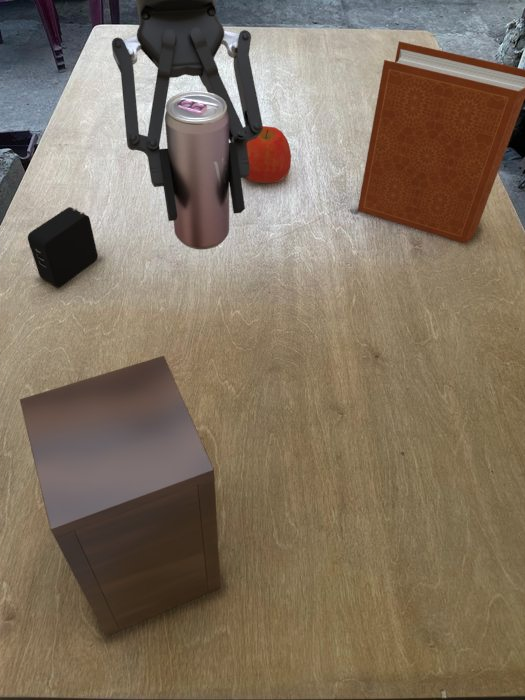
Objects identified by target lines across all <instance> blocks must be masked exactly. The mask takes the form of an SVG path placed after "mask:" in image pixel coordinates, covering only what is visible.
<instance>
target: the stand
mask: <svg viewBox="0 0 525 700" xmlns="http://www.w3.org/2000/svg"><path fill="white" fill-rule="evenodd" d="M19 403H20V407H21V412H22V415H23V420H24V424H25V429H26V432H27V437H28V442H29V446H30V450H31V453H32V457H33V463H34V466H35V470H36V474H37V479H38V484H39V488H40V491H41V496H42V500H43V505H44V508H45V513H46V517H47V521H48V525H49V530H50V532H51V533H52V536H53V537H54V539H55V542H56V543H57V545H58V548H59V549H60V551H61V553H62V555H63V557H64V559H65V561H66V562H67V565H68V567H69V568H70V570H71V573H72V574H73V576H74V578H75V580H76V582H77V584H78V585H79V587H80V590H81V591H82V594H83V595H84V597H85V599H86V601H87V603H88V605H89V607H90V609H91V611H92V613H93V615H94V616H95V618H96V620H97V622H98V625H99V626H100V628H101V630H102V632H103V634H104V635H105V637H108V636H111V635H114V634H115V633H118V632H120V631H122V630H125V629H127V628H130V627H132V626H134V625H136V624H139V623H141V622H143V621H146V620H149V619H150V618H153V617H156V616H157V615H160V614H162V613H164V612H168V611H169V610H172V609H174V608H176V607H177V608H178V607H179V606H181V605H184V604H186V603H188V602H190V601H193V600H195V599H197V598H200V597H202V596H205V595H207V594H209V593H212V592H214V591H216V590H218V589H220V588H221V574H220V573H221V572H220V553H219V552H220V551H219V536H218V517H217V516H218V515H217V498H216V482H215V481H216V480H215V469H214V466H213V464H212V461H211V460H210V457H209V455H208V452H207V450H206V448H205V446H204V444H203V441H202V439H201V437H200V435H199V432H198V431H197V430H198V429H197V428H196V424H195V423H194V421H193V419H192V416H191V414H190V412H189V410H188V407H187V404H186V402H185V401H184V398H183V396H182V394H181V391H180V389H179V387H178V385H177V382H176V381H175V377H174V376H173V373H172V371H171V369H170V366H169V364H168V362H167V359H166V358H165V355H161V356H158V357H155V358H150V359H148V360H144V361H141V362H138V363H134V364H131V365H128V366H125V367H121V368H118V369H115V370H112V371H108V372H105V373H102V374H99V375H95V376H92V377H88V378H85V379H82V380H79V381H75V382H72V383H68V384H65V385H62V386H60V387H59V386H58V387H56V388H52V389H48V390H46V391H42V392H39V393H36V394H32V395H30V396H29V395H28V396H25V397H22V398H20V399H19Z"/></svg>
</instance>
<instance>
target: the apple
mask: <svg viewBox="0 0 525 700" xmlns="http://www.w3.org/2000/svg"><path fill="white" fill-rule="evenodd" d="M247 152H248V160H249V167H250V171H249V175H248V176H247V177H246V178H245V179H247V180H248V181H250V182H253V183H259V184H273V183H278V182H279V181H281V180H283V179H284V178H285V177H286V176H287V175H288V174H289V171H290V169H291V165H292V152H291V146H290V144H289V140H288V138H287V137H286V135H285V134H284V133H283V131H281V130H280V129H279V128H277V127H274V126H267V125H263V129H262V131H261V132H260V134H259V135H258V137H257V138H256V139H252V140H250V141H248V142H247Z"/></svg>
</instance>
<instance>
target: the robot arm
mask: <svg viewBox="0 0 525 700" xmlns="http://www.w3.org/2000/svg"><path fill="white" fill-rule="evenodd" d="M136 8H137V13H138V14H137V15H138V22H139V24H138V28H137V31H136V35H134V36H131V37H128V38H126V39H122V38H121V37H114V38H113V39H112V41H111V50H112V56H113V59H114V61H115V63H116V65H117V67H118V70H119V72H120V78H121V90H122V91H121V92H122V104H123V110H124V111H123V113H124V126H125V136H126V137H125V138H126V145H127V148H128V149H129V150H131V151H139V152H142V153H144V154H145V155H146V157H147V162H148V169H149V176H150V182H151V185H152V186H153V187H154V188H158V187H159V188H160V187H163V194H164V198H165V207H166V213H167V220H168V222H174V220H176V219H177V217H178V216H177V209H176V202H175V196H174V189H173V182H172V175H171V168H170V162H169V155H168V148H167V147H166V148H160V144H161V137H162V130H163V124H164V119H165V113H166V104H167V100H168V99H167V98H168V94H169V93H168V92H169V87H170V81H171V79H174V78H179V77H182V76H190V77H199V79H200V81H201V84H202V85H203V86H204V87H205V89H206V92H209V93H213V94H215V95H218V96H219V97H221V98H222V99H223V100H224V101H225V102H226V105H227V112H228V115H229V192H230V198H231V204H232V205H231V206H232V211H233V214H235V215H236V214H241V213H243V211H244V210H246V207H245V198H244V191H243V183H242V179H247V178H246V177H247V176H248V175H249V171H250V167H249V160H248V152H247V142H248V141H250V140H252V139H256V138H257V137H258V135H259V134H260V132H261V131H262V129H263V126H264V125H263V119H262V115H261V110H260V104H259V100H258V94H257V89H256V85H255V80H254V79H255V78H254V75H253V70H252V69H253V68H252V64H251V60H250V50H251V41H252V35H251V33H250V31H248V30H247V29H244V30H243V29H242V30H240V32H239V33H237V32H233V31H229V30H225V28H224V25H222V23H221V21H220V19H219V18H218V15H217V8H216V1H215V0H136ZM221 45H223V46H224V47H225V48H226V53H227V55H228V56H229V58H232V59H233V71H234V72H233V73H234V77H235V83H236V86H237V91H238V96H239V102H240V107H241V111H242V117H243V122H244V126H243V123H242V122H241V119H240V117H239V115H238V113H237V110H236V108H235V106H234V104H233V102H232V99H231V97H230V95H229V93H228V90H227V88H226V86H225V84H224V81H223V79H222V77H221V75H220V72H219V68H218V65H217V63H216V61H215V57H216V55H217V53H218V51H219V49H220V47H221ZM140 50H141V51H142V52H143V54H144V55H145V56H146V57H147V58H148V59H149V60H150V61H151V62H152V64H153V65H154V66H155V67H156V68H157V72H156V77H155V78H156V79H155V86H154V91H153V98H152V104H151V105H152V106H151V109H150V110H151V111H150V117H149V123H148V131H147V135H144V134H140V130H139V129H140V128H139V117H138V107H137V95H136V94H137V93H136V82H135V72H134V71H135V70H134V65H135V64H136V63H137V62H138V52H139V51H140Z"/></svg>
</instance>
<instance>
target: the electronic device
mask: <svg viewBox="0 0 525 700" xmlns="http://www.w3.org/2000/svg"><path fill="white" fill-rule="evenodd" d="M91 223H92V222H91V219H90V216H89V215H87V214H85V212H84V211H80V210H78V208H76V207H75V208H73V207H71V206H69V207H67V208H65V209H63V210H62V211H60V212H59V213H57V214H56V215H54V216H53V217H51V218H50V219H48V220H46V221H45V222H43V223H42V224H40V225H39V226H38V227H36V228H34V229H32V231H30V232H29V233H28V235H27V241H28V244H29V248H30V251H31V254H32V257H33V260H34V264H35V266H36V269H37V272H38V275H39V278H40V279H42V280H44V281H46V282H47V283H49V284H50V285H52V286H54V287H56V288H61V287H63V286H64V285H66V284H67V283H68V282H69V281H71V280H72V279H73V278H75V277H76V276H77V275H79V274H80V273H82V272H83V271H84V270H86V269H87V268H88V267H90V266H91V265H93V264H94V263H95V262H96V261H97V260H98V256H99V255H98V251H97V246H96V242H95V241H96V240H95V236H94V232H93V228H92V224H91Z"/></svg>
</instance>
